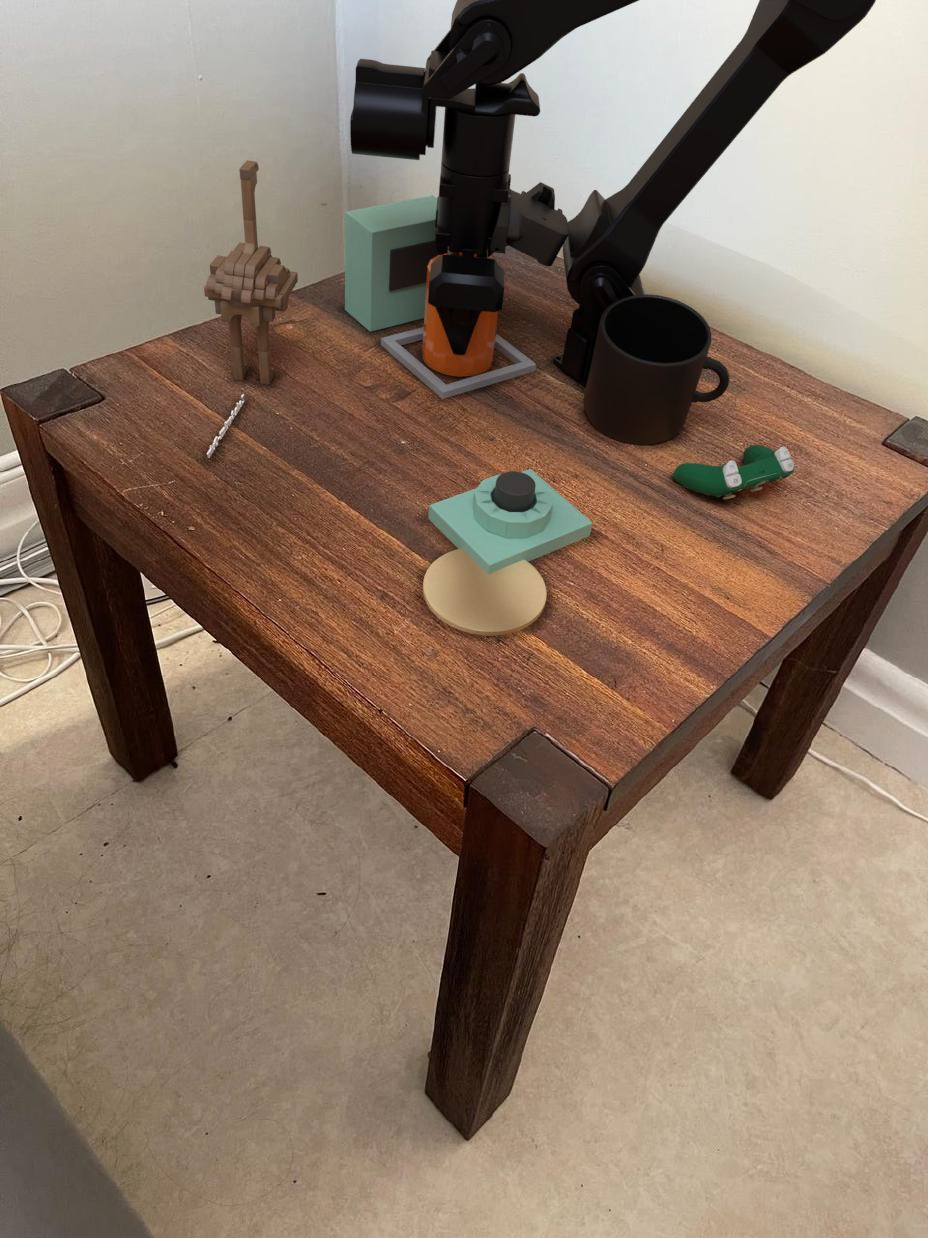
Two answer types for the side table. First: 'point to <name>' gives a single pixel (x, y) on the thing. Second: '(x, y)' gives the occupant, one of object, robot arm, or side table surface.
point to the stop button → (514, 491)
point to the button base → (508, 524)
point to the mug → (648, 369)
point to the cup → (440, 350)
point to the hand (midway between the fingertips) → (459, 334)
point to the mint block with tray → (404, 285)
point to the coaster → (483, 594)
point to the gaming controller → (737, 472)
